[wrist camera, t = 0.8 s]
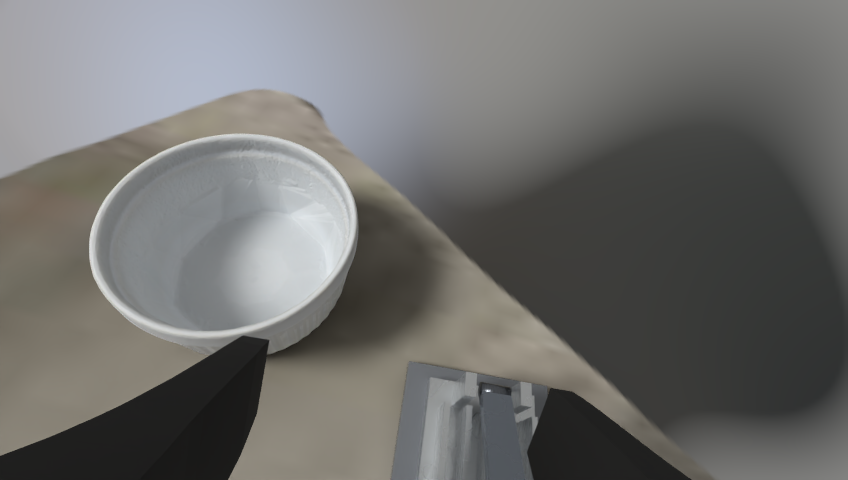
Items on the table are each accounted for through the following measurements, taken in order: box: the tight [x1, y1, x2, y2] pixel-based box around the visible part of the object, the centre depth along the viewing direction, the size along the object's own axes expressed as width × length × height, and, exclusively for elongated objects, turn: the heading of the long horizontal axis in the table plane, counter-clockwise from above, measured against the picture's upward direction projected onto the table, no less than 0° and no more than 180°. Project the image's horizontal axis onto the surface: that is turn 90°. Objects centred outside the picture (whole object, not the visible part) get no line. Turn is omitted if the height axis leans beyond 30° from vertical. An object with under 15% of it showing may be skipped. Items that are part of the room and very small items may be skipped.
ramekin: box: [89, 134, 358, 355], centre depth 24 cm, size 13×13×7 cm
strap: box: [478, 382, 525, 480], centre depth 19 cm, size 7×2×1 cm, turn 173°
